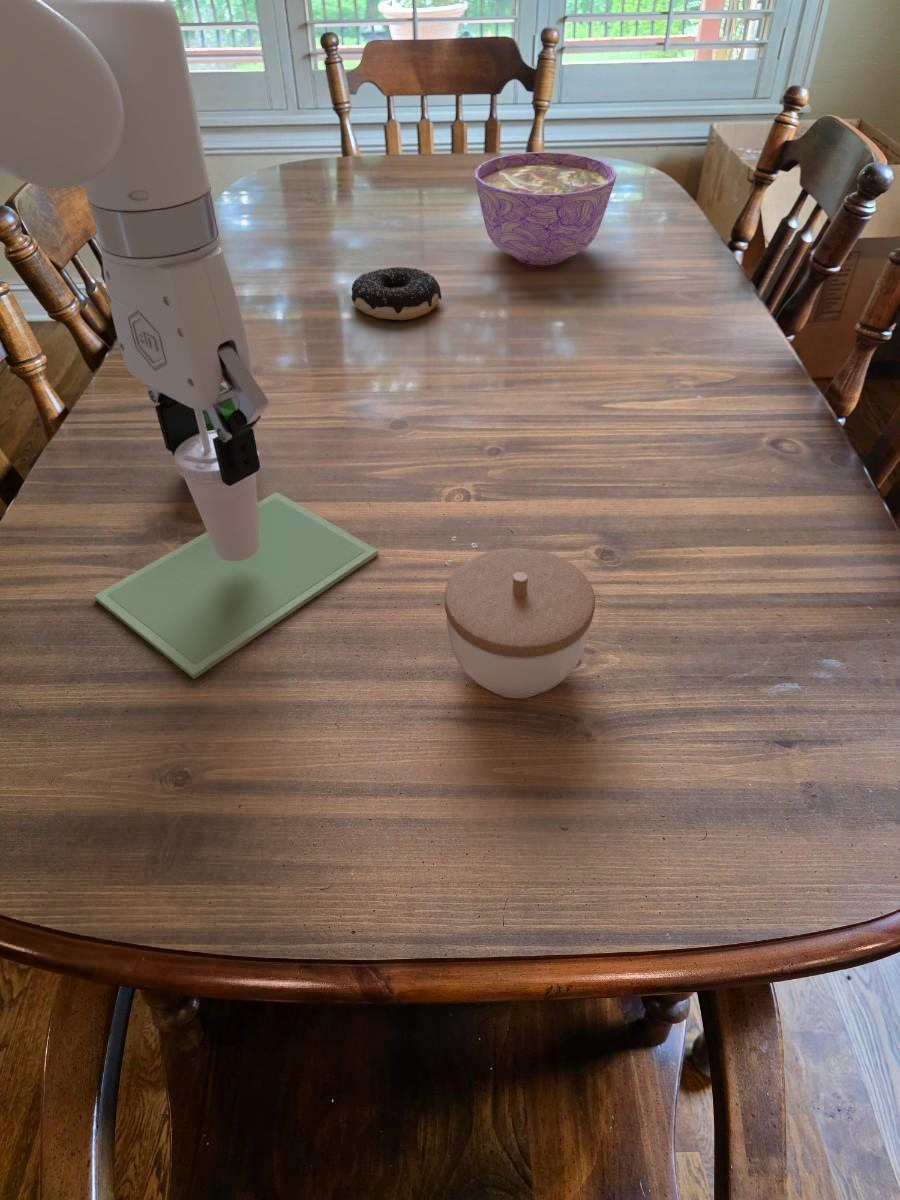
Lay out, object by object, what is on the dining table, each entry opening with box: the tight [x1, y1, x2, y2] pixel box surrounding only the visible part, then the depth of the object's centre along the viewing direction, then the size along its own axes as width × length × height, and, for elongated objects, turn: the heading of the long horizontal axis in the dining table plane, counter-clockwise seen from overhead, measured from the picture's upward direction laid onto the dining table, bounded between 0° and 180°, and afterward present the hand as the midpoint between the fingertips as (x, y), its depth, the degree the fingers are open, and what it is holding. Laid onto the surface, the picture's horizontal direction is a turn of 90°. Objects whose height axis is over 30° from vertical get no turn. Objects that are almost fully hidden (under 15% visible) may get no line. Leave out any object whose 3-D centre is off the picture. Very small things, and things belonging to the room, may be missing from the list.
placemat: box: [93, 491, 379, 680], centre depth 75 cm, size 20×14×1 cm
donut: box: [350, 266, 442, 321], centre depth 116 cm, size 11×12×4 cm
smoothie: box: [173, 409, 260, 561], centre depth 69 cm, size 6×6×14 cm
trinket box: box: [444, 547, 596, 699], centre depth 64 cm, size 11×11×9 cm
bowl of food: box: [474, 151, 618, 266], centre depth 126 cm, size 20×20×12 cm
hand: (212, 458), depth 67 cm, fingers closed on smoothie, 6 cm apart
